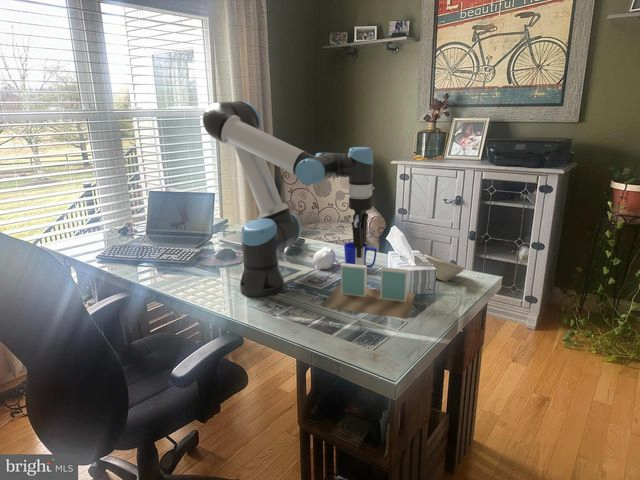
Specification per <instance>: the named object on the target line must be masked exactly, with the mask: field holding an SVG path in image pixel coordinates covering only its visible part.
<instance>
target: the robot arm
mask: <svg viewBox="0 0 640 480" xmlns="http://www.w3.org/2000/svg"><path fill="white" fill-rule="evenodd" d="M202 124H203V127H204V130H205V132H207V134H208V135H209V136H211V137H212V138H213V139H215V140H217V141H219V142H221V143H224V144H225V145H228V146H229V147H231V148H233V149H234V150H235V151H236V154H237V156H238V157H237V158H238V159H239V162H240V164H241V167H242V170H243V172H244V175H245V177H246V180H247V182H248V185H249V188H250V190H251V193H252V195H253V198H254V200H255V202H256V205H257V208H258V210H259V215H258V216H257V217H258V218H257V219H253V220H252V219H251V220H249V221H246V222H245V223H244V224H243V225H242V227H241V236H240V239H241V245H242V247H241V248H242V258H243V261H242V262H243V271H242V274H241V278H240V283H239V291H240V292H241V294H243V295H245V296H247V297H253V298H265V297H271V296H274V295H275V296H276V295H277V294H279V293H281V292H283V290H284V289H285V279H284V276H283V275H282V272H281V270H280V267H279V254H278V253H281V251H283V250H286V248H289V247H291V246H293V245H294V244H295V243H296V242H297V241H298V240H299V239H300V237H301V235H302V229H303V228H302V224H301V221H300V218H299V217H298V216H297V215H295V214H294V213H291V211H290V208H289V206H287V205H285V204H284V203H283V201H282V198H281V197H280V194H279V191H278V188H277V187H276V183H275V181H274V178H273V176H272V172H271V170H270V168H269V166H268V162H269V163H271V164H273V165H274V166H277V167H280V168H281V169H283V170H285V171H286V172H289V173H291V174H293V175H295V176H296V177H295V178H296V179H298V181H299V183H300V184H302V185H307V186H310V185H316V184H318V183H320V182H323V181H325V180H328V179H331V178H335V177H336V178H348V196H349V197H348V208H349V210H353V211H354V214H353V215H352V220H353V221H352V222H351V227H352V239H353V240H352V242H353V243H354V246H353V248H355V264H357V265H364V247H363V246H366V247H368V244H367V232H368V219H369V213H368V212H367V211H370V210H371V209H372V208H373V197H372V196H373V191H374V190H375V187H374V186H373V172H374V156H373V155H374V154H373V153H374V151H373V149H372V148H371V147H368V146H354V147H353V146H352V147H350V148H349V149H348V153H347V152H346V153H339V152H338V153H337V152H327V151H326V152H317V153H315V155H313V154H311V153H308V152H306V151H305V150H302V149H300V148H298V147H296V146H294V145H292V144H290V143H288V142H285V141H284V140H282V139H279V138H277V137H275V136H273V135H271V134H269V133H267V132H264V131H262V130H260V128H261V127H260V125H261V115H260V114H259V110H257V109H256V107H255V106H254V105H252V104H251V103H249V102H245V101H241V100H240V101H239V100H238V101H237V100H236V101H217V102H213V103H211V104H210V105H208V106H207V108H205V111H204V112H203V116H202Z"/></svg>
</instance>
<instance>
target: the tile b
mask: <svg viewBox="0 0 640 480" xmlns="http://www.w3.org/2000/svg"><path fill="white" fill-rule="evenodd" d="M408 278H409V270H408V269H404V268H394V267H385V266H383V267H382V266H381V268H380V290H381V297H380V299H386V300H393V301H401V302H406V300H407V293H408V283H409V281H408V280H409V279H408Z"/></svg>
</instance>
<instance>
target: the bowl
mask: <svg viewBox="0 0 640 480" xmlns="http://www.w3.org/2000/svg"><path fill="white" fill-rule="evenodd" d="M422 255H423V256H424V257H425V258H426V259H427V260H428V261H429V262H430V263H431V264H433V266H434V267H435V268H436V269H437V280H441V281H444V282H448V281H450V280H451V279H452V278H453V277H455V276H457V275H459V274H460V273H462V272H463V271H465V267H464V266H461V265H457V264H455V263H452V262H450V261H446V260H443V259H440V258H439V257H437V256H436V255H435V256H434V255H431V254H429V253H425V254H422ZM423 256H422V257H423ZM424 257H423V258H424Z"/></svg>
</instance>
